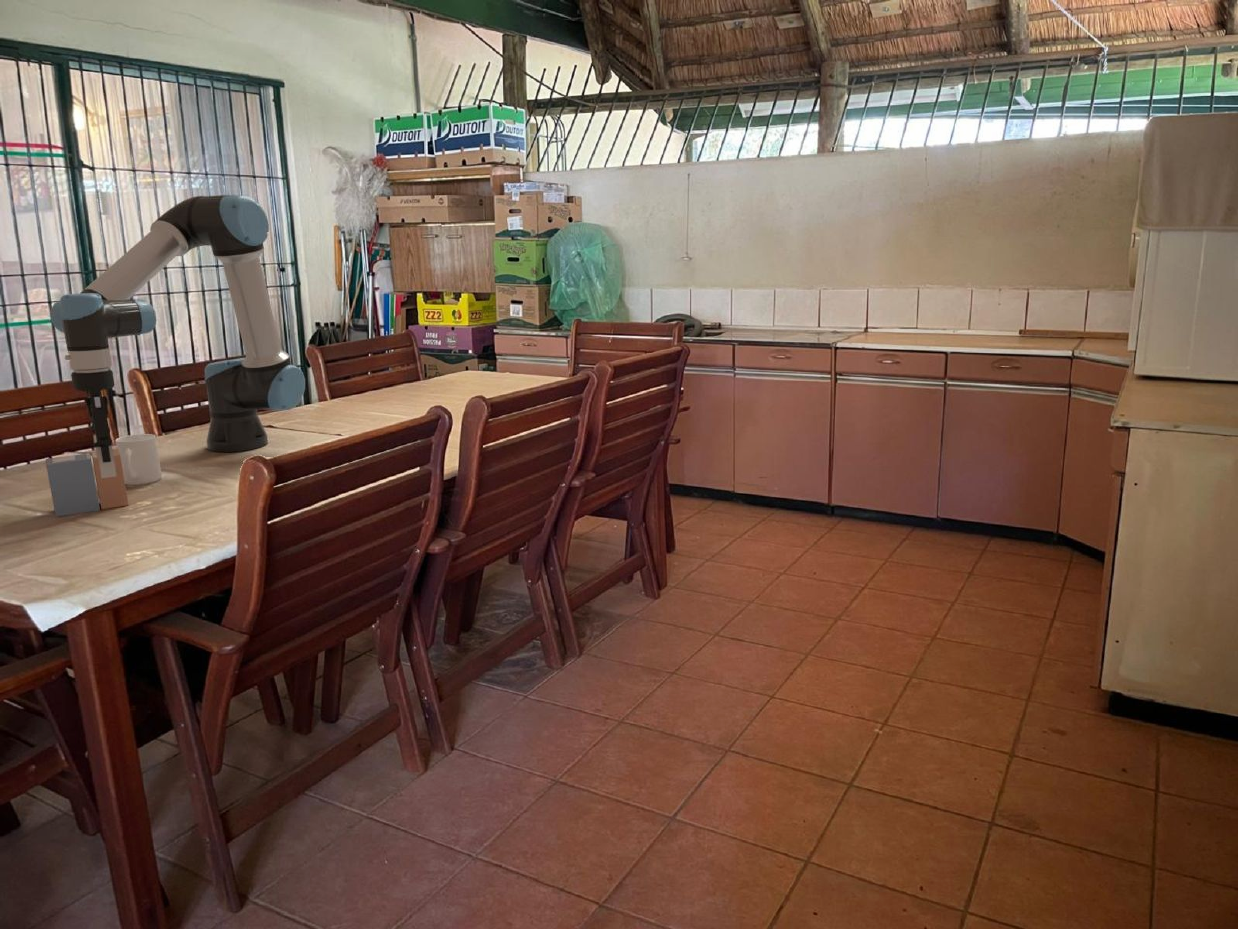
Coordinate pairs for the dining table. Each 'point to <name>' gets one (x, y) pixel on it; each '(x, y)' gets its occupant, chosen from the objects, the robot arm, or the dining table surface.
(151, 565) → the dining table surface
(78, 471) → the toy oven block
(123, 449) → the mug
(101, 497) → the stub
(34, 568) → the dining table surface
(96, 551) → the dining table surface
